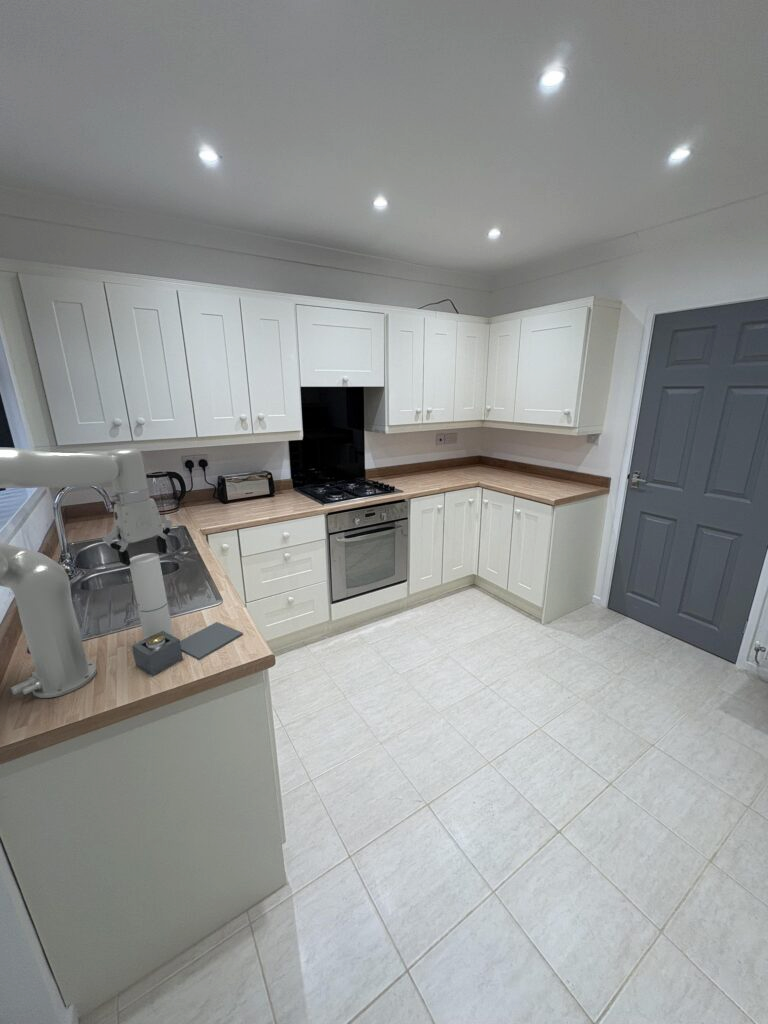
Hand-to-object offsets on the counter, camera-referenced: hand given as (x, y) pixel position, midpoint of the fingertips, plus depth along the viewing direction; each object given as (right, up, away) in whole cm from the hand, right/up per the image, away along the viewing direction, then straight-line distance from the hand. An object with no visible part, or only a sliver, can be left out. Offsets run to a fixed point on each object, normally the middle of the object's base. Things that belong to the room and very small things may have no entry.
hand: (145, 558), depth 109 cm
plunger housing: (+6, -27, -4) cm, 28 cm away
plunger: (+6, -25, -5) cm, 26 cm away
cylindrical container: (0, -24, +6) cm, 25 cm away
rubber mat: (+15, -24, +5) cm, 29 cm away
